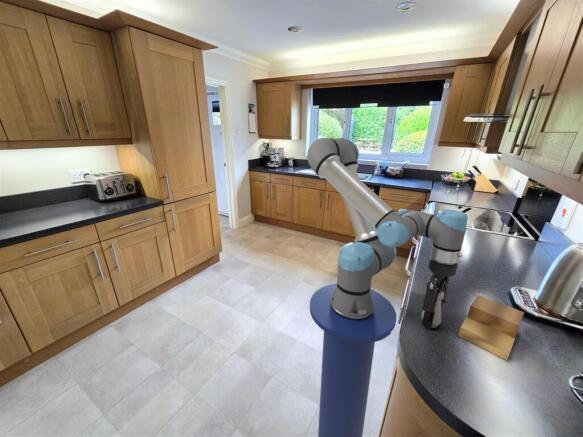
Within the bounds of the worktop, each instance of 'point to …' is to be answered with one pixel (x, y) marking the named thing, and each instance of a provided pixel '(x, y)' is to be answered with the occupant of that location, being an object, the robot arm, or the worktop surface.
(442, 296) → the salt shaker
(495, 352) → the stepped wooden block
